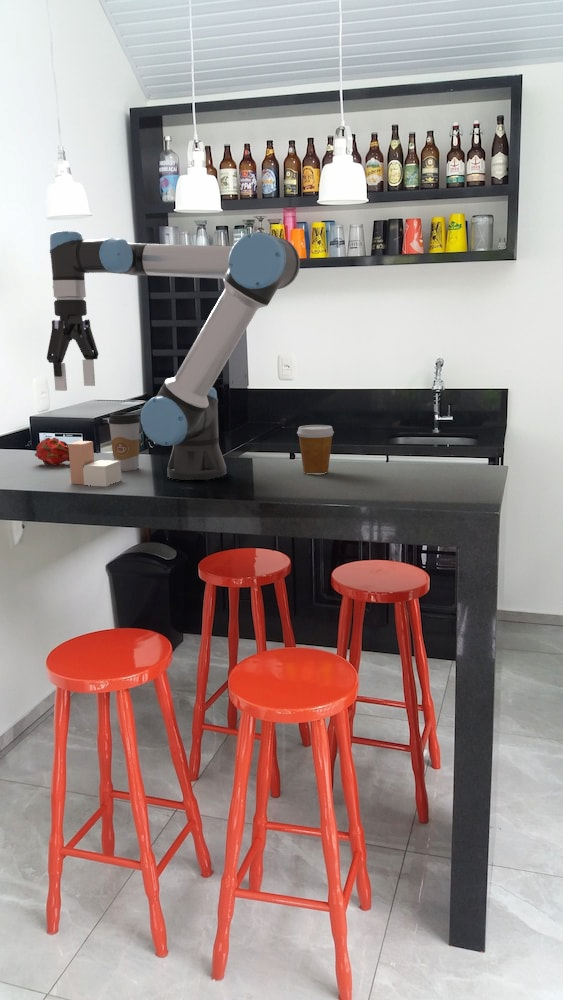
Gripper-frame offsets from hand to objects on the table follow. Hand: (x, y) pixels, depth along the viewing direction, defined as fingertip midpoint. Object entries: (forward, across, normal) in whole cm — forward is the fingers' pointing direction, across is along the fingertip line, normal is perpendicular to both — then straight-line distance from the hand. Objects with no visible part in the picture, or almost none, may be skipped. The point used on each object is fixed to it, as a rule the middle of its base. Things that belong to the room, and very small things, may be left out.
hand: (75, 388), depth 204 cm
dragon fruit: (+24, -21, -20) cm, 38 cm away
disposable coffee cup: (+23, -23, +55) cm, 64 cm away
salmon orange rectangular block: (+24, 0, 0) cm, 24 cm away
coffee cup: (+24, -19, +3) cm, 31 cm away
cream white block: (+23, 0, +6) cm, 24 cm away
